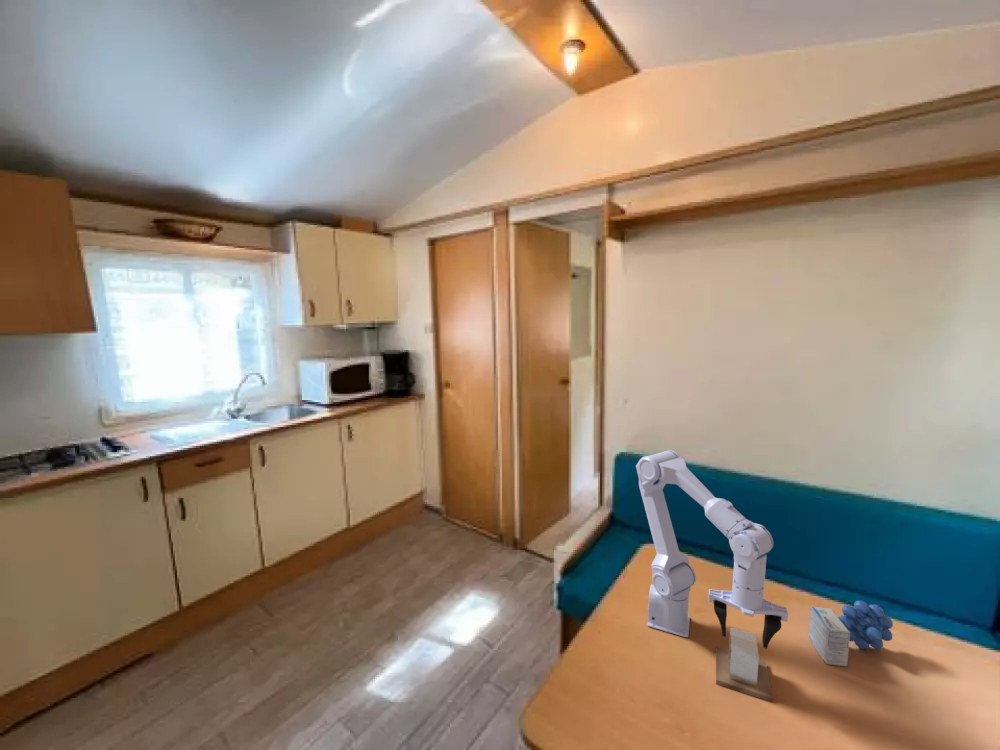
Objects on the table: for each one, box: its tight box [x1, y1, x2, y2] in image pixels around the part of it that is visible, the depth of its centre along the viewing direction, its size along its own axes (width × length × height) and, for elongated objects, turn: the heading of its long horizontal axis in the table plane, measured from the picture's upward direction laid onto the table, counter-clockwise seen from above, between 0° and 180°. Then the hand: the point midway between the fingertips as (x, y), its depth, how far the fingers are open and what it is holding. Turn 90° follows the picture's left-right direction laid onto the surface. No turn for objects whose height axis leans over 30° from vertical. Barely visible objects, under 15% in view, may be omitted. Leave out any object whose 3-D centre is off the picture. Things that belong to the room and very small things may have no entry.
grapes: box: [837, 600, 894, 650], centre depth 98 cm, size 12×7×12 cm, turn 83°
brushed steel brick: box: [728, 627, 760, 687], centre depth 92 cm, size 5×7×7 cm
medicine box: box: [807, 606, 851, 667], centre depth 98 cm, size 8×4×9 cm, turn 168°
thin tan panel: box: [715, 645, 772, 703], centre depth 93 cm, size 10×10×4 cm
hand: (743, 639), depth 92 cm, fingers open, 7 cm apart
